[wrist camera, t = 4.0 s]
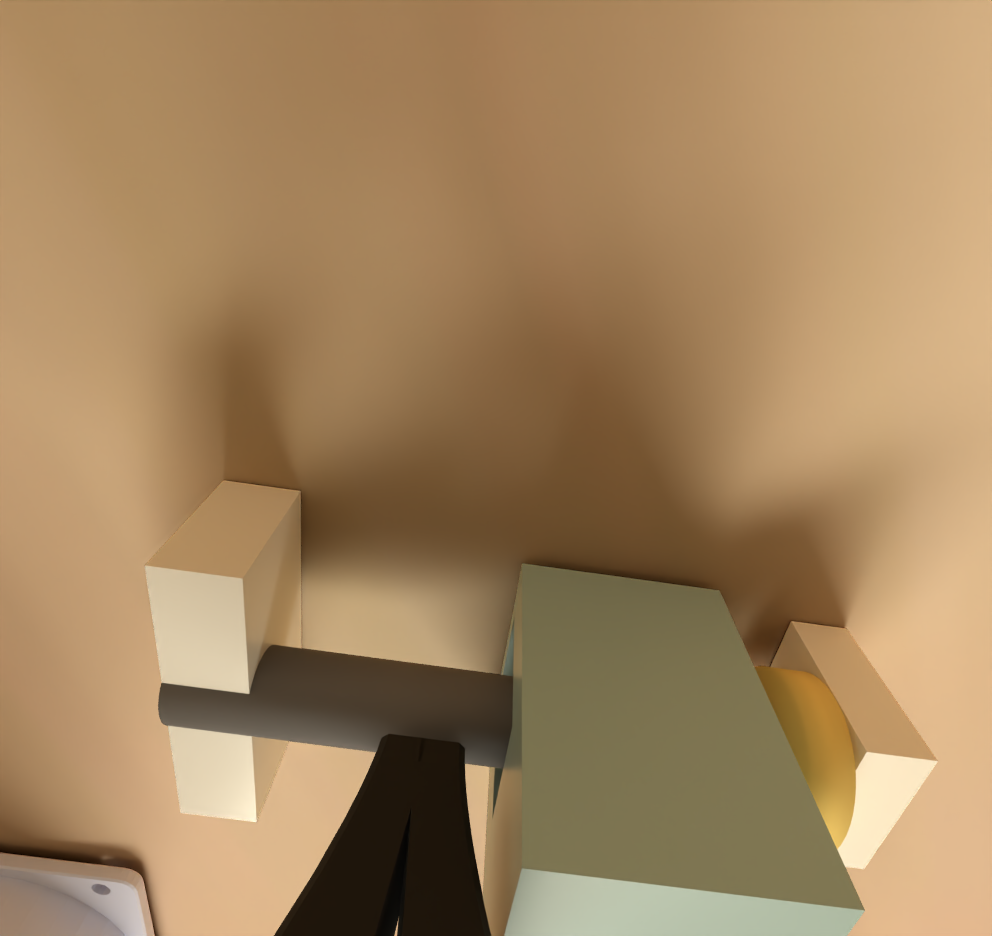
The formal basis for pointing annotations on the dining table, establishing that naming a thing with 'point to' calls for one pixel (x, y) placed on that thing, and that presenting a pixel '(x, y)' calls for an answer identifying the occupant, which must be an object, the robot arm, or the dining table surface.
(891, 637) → the dining table surface
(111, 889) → the robot arm
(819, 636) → the cream block
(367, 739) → the rod
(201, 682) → the cream rectangular block
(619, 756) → the sage green block
